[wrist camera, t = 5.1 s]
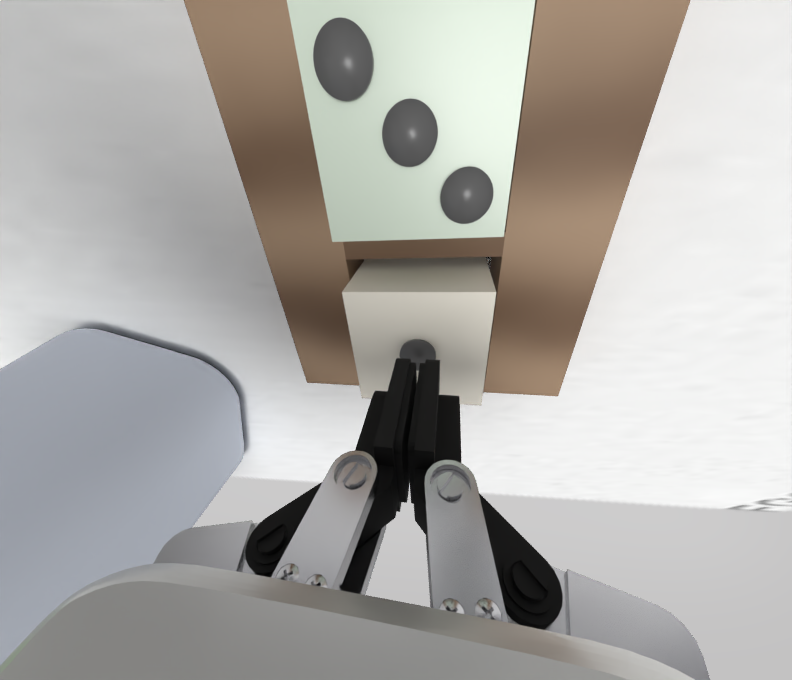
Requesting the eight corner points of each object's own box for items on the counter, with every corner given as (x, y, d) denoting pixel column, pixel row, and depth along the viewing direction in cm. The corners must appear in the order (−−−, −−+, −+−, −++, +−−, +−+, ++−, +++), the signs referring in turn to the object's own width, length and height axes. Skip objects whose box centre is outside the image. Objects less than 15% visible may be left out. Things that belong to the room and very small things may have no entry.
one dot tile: (365, 259, 15) (340, 294, 12) (485, 256, 14) (496, 294, 11) (377, 352, 18) (361, 401, 15) (475, 355, 17) (481, 408, 14)
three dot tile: (336, 42, 11) (282, -4, 7) (510, 17, 10) (544, -52, 6) (359, 218, 14) (330, 243, 10) (490, 212, 13) (504, 238, 10)
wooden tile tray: (113, -450, 7) (-60, -753, 5) (869, -832, 5) (1310, -1855, 2) (323, 354, 21) (307, 382, 19) (543, 362, 19) (558, 396, 16)
